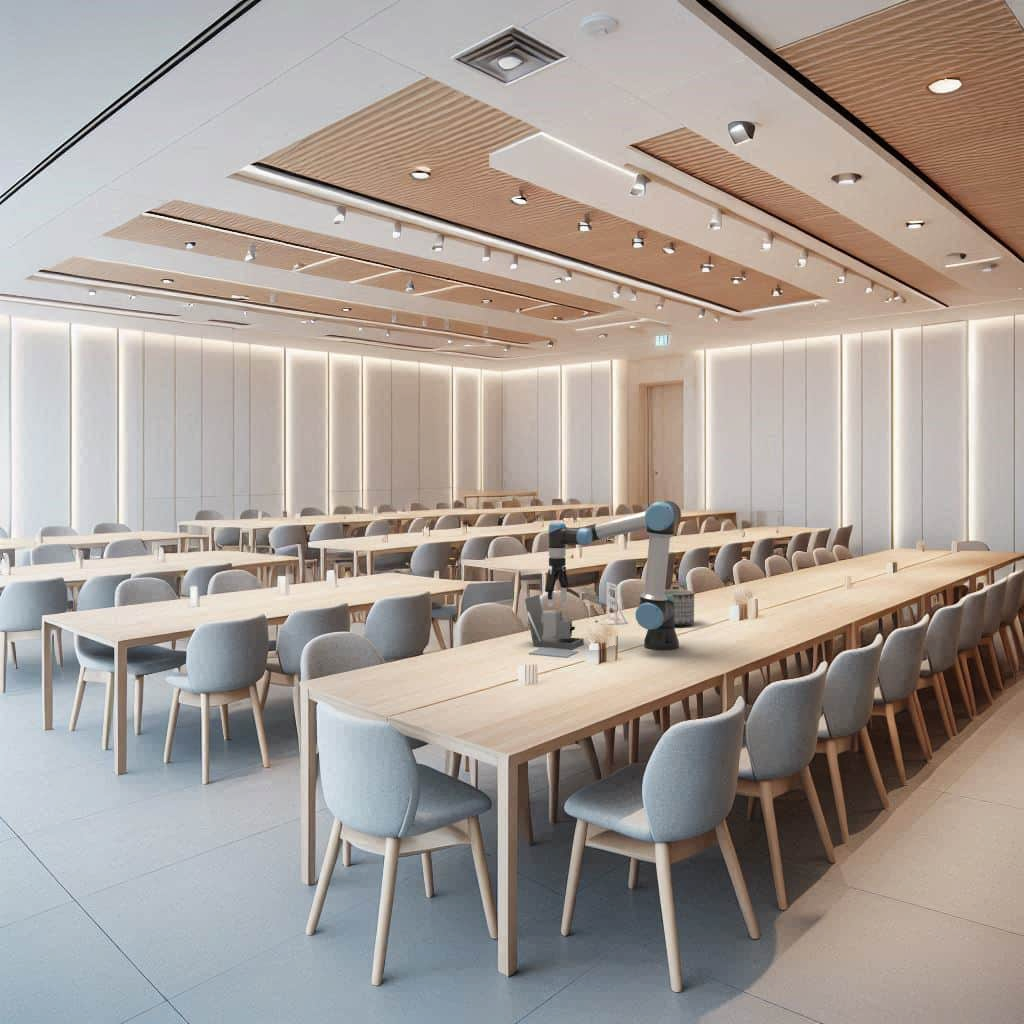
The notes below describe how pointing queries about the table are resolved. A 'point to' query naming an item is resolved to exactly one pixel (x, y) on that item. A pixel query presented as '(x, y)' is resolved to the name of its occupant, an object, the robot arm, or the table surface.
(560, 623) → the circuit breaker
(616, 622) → the film strip holder
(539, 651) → the mat
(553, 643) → the case
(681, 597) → the planter
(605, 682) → the table surface
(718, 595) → the table surface
